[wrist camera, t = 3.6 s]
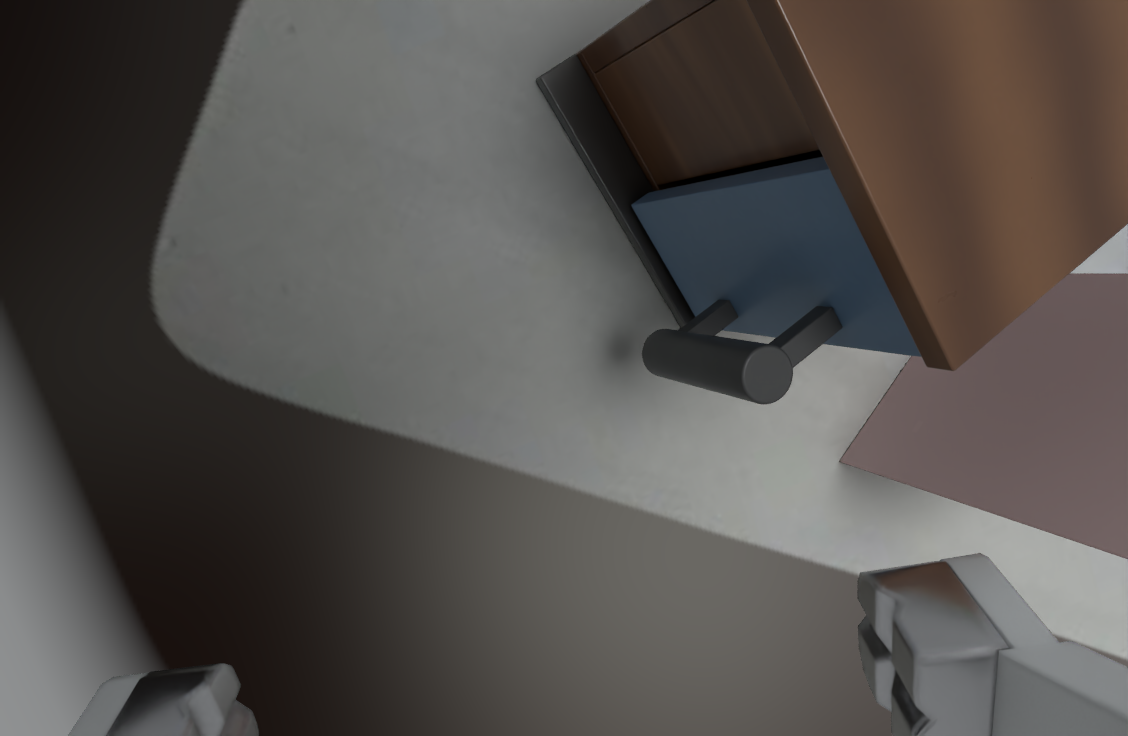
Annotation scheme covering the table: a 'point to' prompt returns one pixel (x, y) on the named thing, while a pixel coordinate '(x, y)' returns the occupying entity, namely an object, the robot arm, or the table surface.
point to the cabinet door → (765, 279)
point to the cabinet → (878, 134)
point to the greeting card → (1022, 419)
